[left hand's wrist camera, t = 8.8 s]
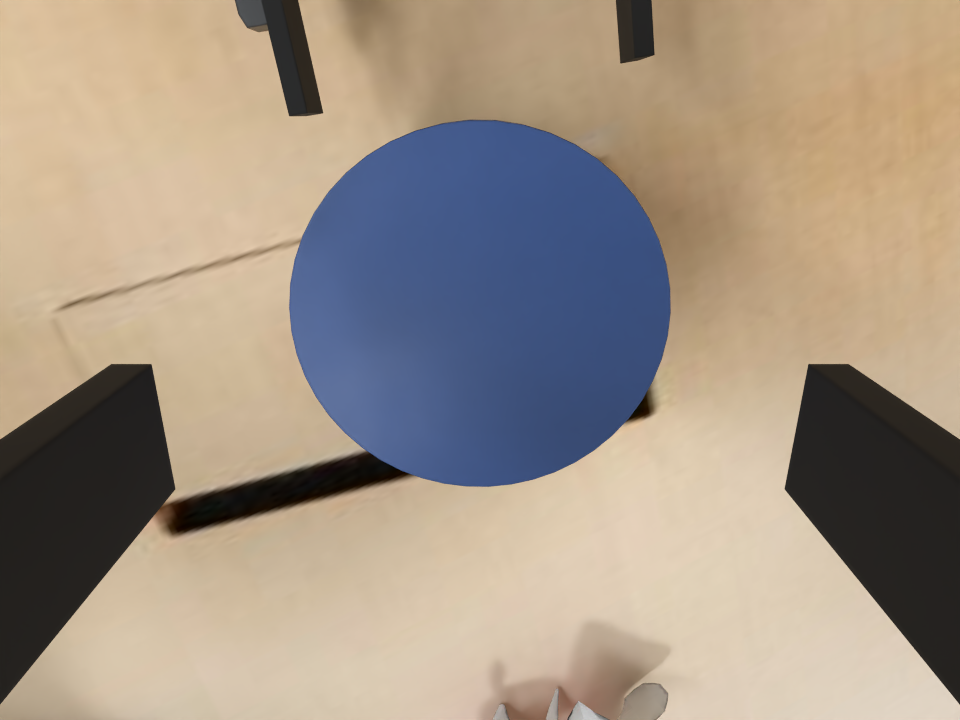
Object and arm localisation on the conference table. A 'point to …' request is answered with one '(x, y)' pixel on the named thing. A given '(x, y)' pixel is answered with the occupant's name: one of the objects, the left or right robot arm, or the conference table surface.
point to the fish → (634, 716)
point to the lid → (480, 303)
